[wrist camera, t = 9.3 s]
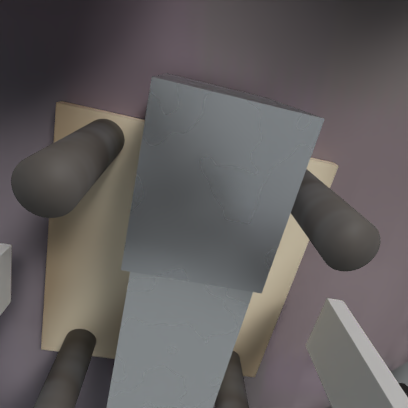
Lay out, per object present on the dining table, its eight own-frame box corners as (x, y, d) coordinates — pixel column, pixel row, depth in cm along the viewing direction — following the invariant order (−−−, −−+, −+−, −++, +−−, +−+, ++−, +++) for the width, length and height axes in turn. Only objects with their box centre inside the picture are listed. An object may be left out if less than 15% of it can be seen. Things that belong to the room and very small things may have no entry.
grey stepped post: (181, 392, 19) (178, 523, 14) (112, 384, 19) (81, 517, 13) (266, 97, 13) (324, 118, 8) (167, 73, 13) (152, 76, 7)
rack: (45, 340, 18) (-27, 479, 12) (61, 101, 13) (-45, 128, 7) (252, 368, 20) (281, 504, 13) (332, 162, 15) (433, 227, 9)
